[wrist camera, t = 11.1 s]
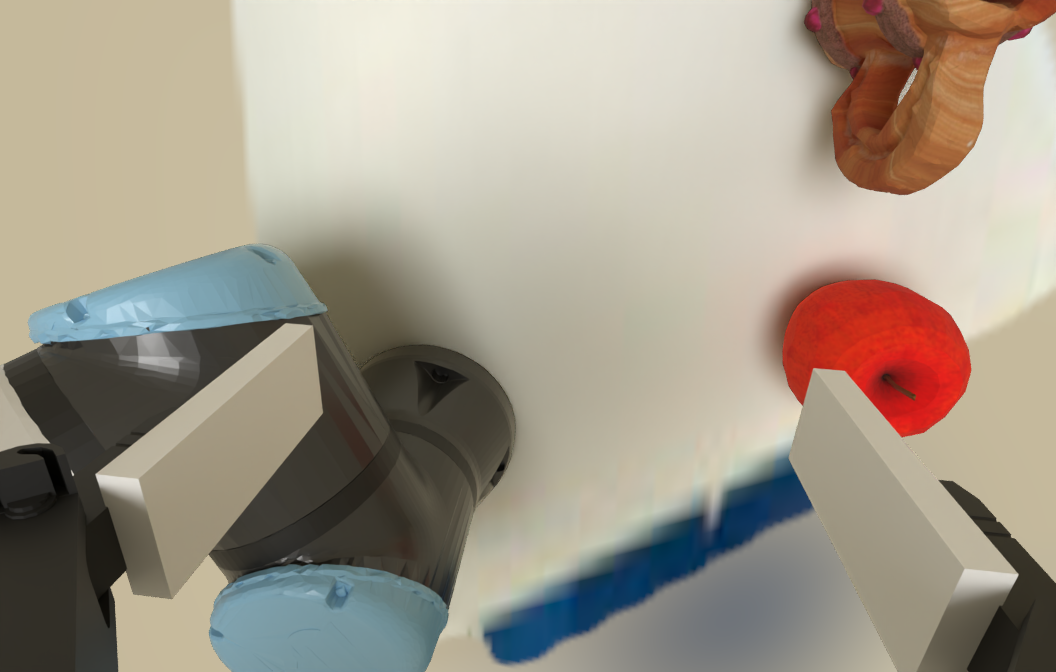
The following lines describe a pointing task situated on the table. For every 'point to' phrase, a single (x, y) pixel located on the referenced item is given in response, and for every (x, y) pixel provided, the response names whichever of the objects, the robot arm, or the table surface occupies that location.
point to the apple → (880, 349)
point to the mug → (936, 93)
